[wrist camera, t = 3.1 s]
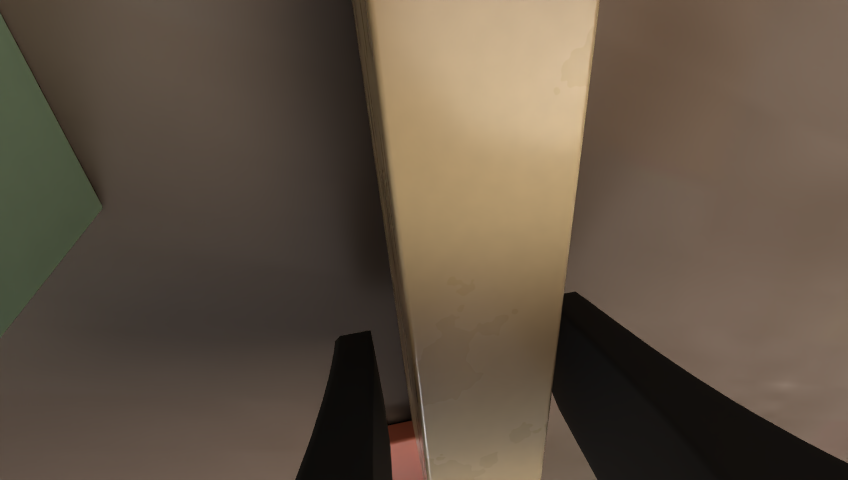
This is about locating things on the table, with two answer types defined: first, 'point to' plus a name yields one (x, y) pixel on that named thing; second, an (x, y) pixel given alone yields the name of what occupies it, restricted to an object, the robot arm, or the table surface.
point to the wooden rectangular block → (476, 216)
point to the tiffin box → (34, 186)
